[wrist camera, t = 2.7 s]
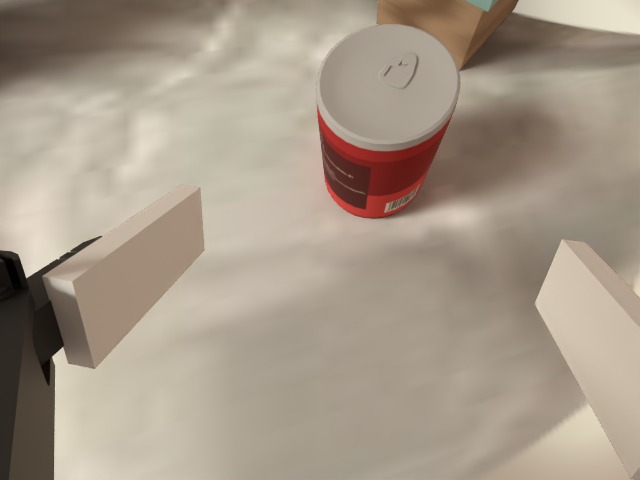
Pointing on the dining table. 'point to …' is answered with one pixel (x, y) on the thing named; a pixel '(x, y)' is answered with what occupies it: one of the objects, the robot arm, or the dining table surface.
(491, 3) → the teal block
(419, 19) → the walnut block
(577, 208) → the dining table surface
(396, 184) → the canned food
